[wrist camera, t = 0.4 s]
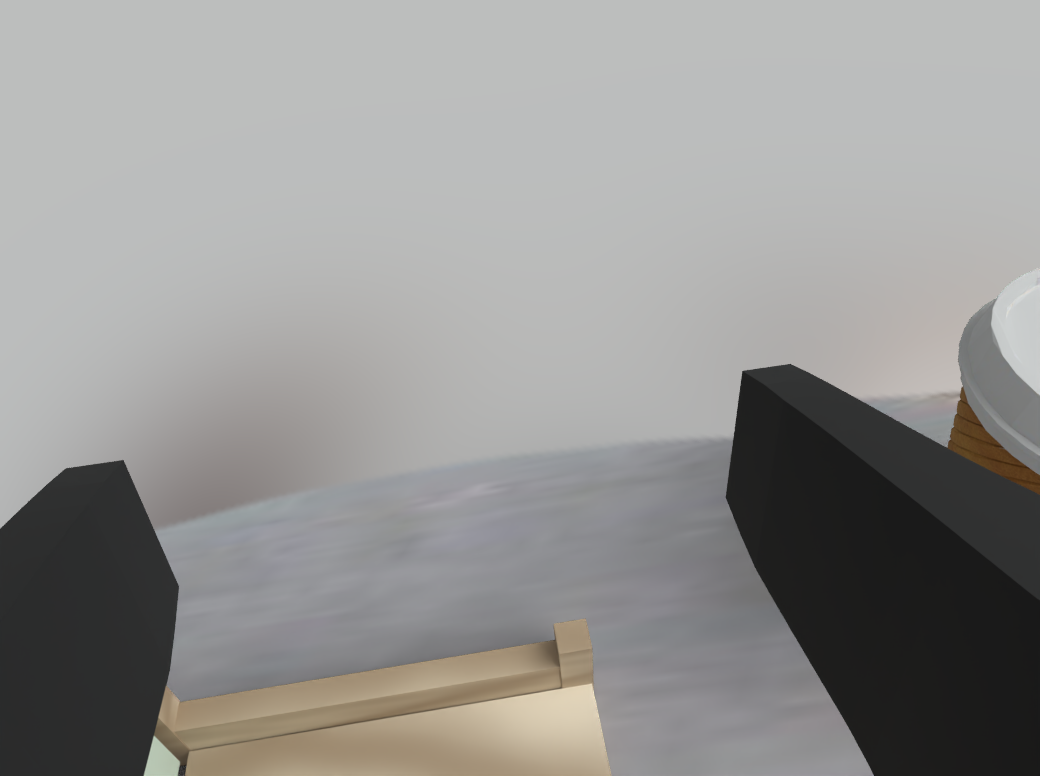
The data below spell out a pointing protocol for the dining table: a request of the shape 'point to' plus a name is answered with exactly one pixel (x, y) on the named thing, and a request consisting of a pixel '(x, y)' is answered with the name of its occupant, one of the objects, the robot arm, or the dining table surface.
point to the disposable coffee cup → (1002, 385)
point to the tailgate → (161, 761)
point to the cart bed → (407, 719)
